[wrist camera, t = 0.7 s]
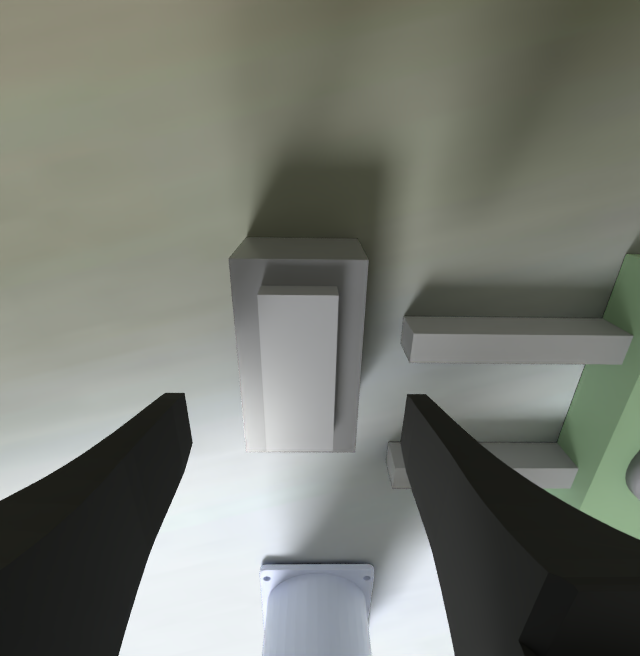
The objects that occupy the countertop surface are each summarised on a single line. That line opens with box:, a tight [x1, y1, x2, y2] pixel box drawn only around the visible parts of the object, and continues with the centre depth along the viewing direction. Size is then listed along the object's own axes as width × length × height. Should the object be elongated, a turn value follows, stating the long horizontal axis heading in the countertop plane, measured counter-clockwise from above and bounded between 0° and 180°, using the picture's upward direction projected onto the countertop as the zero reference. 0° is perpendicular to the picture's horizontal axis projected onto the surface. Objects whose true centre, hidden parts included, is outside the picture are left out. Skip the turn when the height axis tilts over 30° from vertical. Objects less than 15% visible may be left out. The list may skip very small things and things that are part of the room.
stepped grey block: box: [229, 237, 369, 452], centre depth 17 cm, size 5×9×5 cm, turn 179°
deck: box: [386, 254, 640, 540], centre depth 19 cm, size 16×18×4 cm
